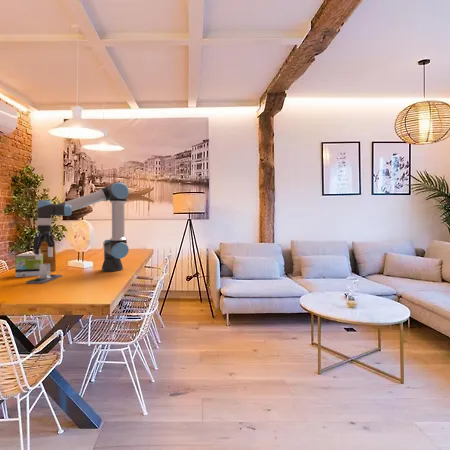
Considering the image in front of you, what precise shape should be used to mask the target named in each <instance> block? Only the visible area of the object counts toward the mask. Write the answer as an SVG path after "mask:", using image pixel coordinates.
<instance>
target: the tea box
mask: <svg viewBox="0 0 450 450" xmlns="http://www.w3.org/2000/svg"><path fill="white" fill-rule="evenodd" d="M14 257H15V265H14V266H15V269H14V270H15V271H14V273H15V278H24V277H25V278H26V277H29V278H30V277H40V266H39V265H40V264H43V254H40V260H35V253H19V254H17V255H15V256H14Z"/></svg>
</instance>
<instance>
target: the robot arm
mask: <svg viewBox="0 0 450 450" xmlns="http://www.w3.org/2000/svg"><path fill="white" fill-rule="evenodd" d="M129 190H130V189H129V187H128V186H127V184H125V183H123V182H119V181H117V182H114V183H110V184H108V185H107V186H104V187H102V188H99V189H98V190H97V191H95V192H91V193H88V194H85V195H81V196H79V197H76V198H74V199H73V198H72V199H69V200H67V201H64V202H61V203H52V201H51V200H38V201H37V207H36V209H37V212H36V213H37V220H36V221H37V226H36V227H37V231H38V232H36V233H35V237H34V241H33V246H32V249H33V250H34V252H35V253H34V254H35V260H40V246H41V244H42V242H44V241H45V242H47V244H48V246H49V247H48V257H53V247H54V245H56V243H54V236H53V232H52V225H51V224H52V216H55V217H56V216H58V217H59V216H62V217H63V216H64V217H65V216H66V217H69V216H71V215H72V212H74V211H76V210H80V209H82V208H83V209H84V208H85V207H89V206H91V205H94V204H97V203H100V202H107V201H109V203H111V237H110V239H105V240H104V241H103V257H104V258H103V263H102V265H101V271H103V272H118V271H122V270H124V265H123V262H122V259H123V258H125V257H126V256H128V253H129V250H130V248H129V246H128V244H127V243H128V242H127V238H126V237H125V204H126V203H127V202H128V201H127V200H128V196H129V194H130V191H129ZM52 243H53V244H52Z"/></svg>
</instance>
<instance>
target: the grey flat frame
mask: <svg viewBox="0 0 450 450" xmlns="http://www.w3.org/2000/svg"><path fill="white" fill-rule="evenodd" d="M51 277H52V278H48V279H40V278H38V277H36V278H33V279H30V280H28V281H26V284H31V285H34V284H35V285H36V284H37V285H38V284H39V285H41V284H42V285H44V284H46V283H48V282H51V281H52V282H53V281H55V280H56V279H57V280H58V279H59V278H61V277H63V274H51Z"/></svg>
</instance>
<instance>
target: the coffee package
mask: <svg viewBox="0 0 450 450" xmlns="http://www.w3.org/2000/svg"><path fill="white" fill-rule="evenodd" d="M54 243H55V241H54ZM52 244H53V243H52ZM55 245H56V243H55ZM55 245H54V247H53V257H48V247H49V246H48V244H47V242H46V241H43V242H42V244H41V246H40V254H43V264H50V272H55V271H56V270H57V262H56V246H55Z"/></svg>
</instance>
